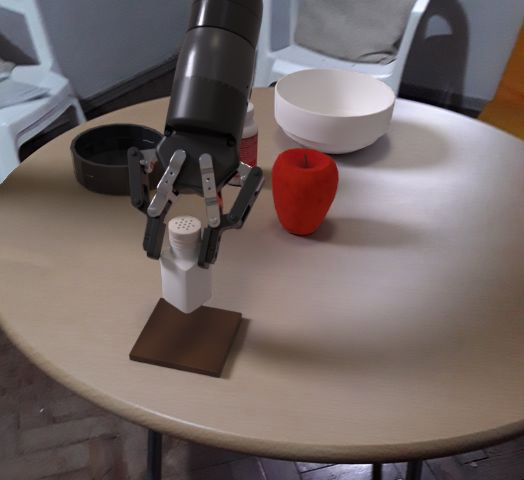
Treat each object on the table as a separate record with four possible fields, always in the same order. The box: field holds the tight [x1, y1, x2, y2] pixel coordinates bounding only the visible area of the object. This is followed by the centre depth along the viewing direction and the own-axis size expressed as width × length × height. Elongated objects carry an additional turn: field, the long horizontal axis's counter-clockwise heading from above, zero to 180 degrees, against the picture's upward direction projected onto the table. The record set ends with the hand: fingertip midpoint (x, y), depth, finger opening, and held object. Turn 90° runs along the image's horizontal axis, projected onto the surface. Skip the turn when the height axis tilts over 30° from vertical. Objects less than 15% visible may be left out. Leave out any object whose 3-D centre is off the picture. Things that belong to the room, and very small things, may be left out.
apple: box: [271, 147, 340, 236], centre depth 84 cm, size 9×9×11 cm
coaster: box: [128, 297, 243, 378], centre depth 70 cm, size 10×10×1 cm
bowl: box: [274, 67, 397, 155], centre depth 105 cm, size 20×20×8 cm
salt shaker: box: [159, 215, 213, 314], centre depth 64 cm, size 4×4×10 cm
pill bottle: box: [227, 101, 259, 186], centre depth 93 cm, size 6×6×11 cm
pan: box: [69, 122, 164, 196], centre depth 95 cm, size 14×14×4 cm
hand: (178, 262), depth 61 cm, fingers closed on salt shaker, 4 cm apart
